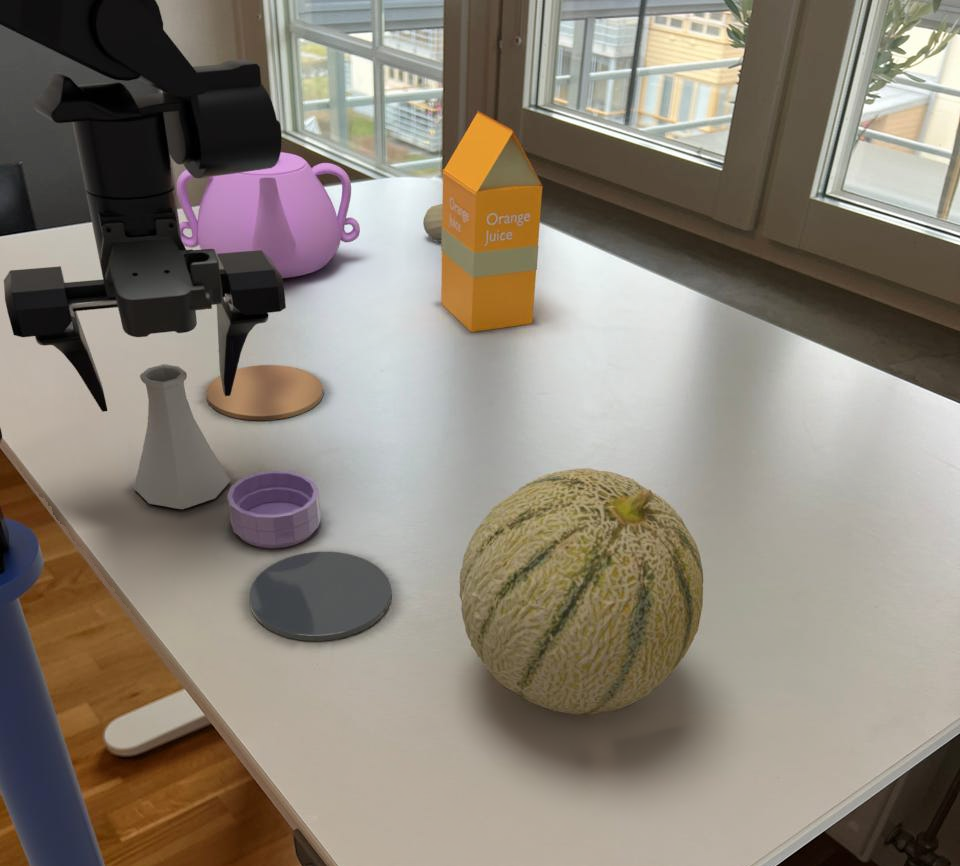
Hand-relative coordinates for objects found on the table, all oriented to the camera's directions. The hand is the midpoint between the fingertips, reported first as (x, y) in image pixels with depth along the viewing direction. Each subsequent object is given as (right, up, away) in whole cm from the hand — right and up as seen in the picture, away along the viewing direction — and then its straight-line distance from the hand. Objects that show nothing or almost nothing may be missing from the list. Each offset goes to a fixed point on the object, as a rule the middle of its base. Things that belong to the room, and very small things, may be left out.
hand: (166, 401), depth 77 cm
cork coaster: (+4, +5, +19) cm, 20 cm away
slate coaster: (+13, -15, -6) cm, 21 cm away
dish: (+8, -9, +1) cm, 13 cm away
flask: (0, -6, +5) cm, 8 cm away
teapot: (-1, +27, +45) cm, 52 cm away
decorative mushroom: (+23, +33, +53) cm, 66 cm away
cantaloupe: (+30, -21, -11) cm, 39 cm away
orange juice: (+25, +19, +37) cm, 48 cm away
